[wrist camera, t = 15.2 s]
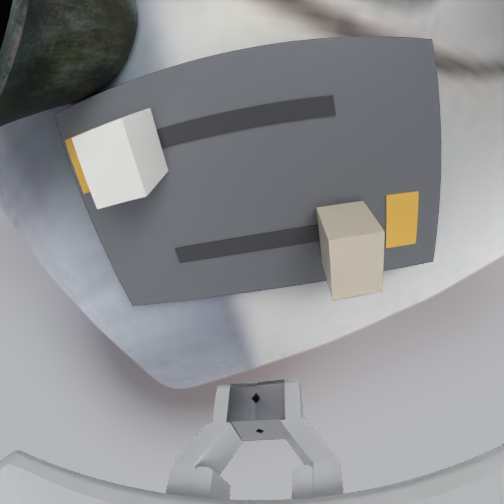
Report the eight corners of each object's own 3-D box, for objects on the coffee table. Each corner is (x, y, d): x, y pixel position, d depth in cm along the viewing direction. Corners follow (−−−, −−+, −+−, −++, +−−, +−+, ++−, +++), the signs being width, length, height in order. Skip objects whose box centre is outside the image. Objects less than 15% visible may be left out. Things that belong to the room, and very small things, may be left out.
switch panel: (417, 40, 14) (432, 39, 13) (422, 247, 23) (433, 262, 21) (69, 109, 17) (53, 115, 16) (139, 290, 26) (132, 306, 24)
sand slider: (363, 200, 18) (384, 231, 15) (364, 254, 20) (381, 291, 17) (316, 207, 19) (328, 240, 15) (321, 261, 21) (332, 300, 17)
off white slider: (150, 107, 16) (121, 118, 12) (168, 171, 18) (146, 196, 14) (106, 123, 16) (71, 138, 13) (125, 182, 18) (97, 209, 15)
